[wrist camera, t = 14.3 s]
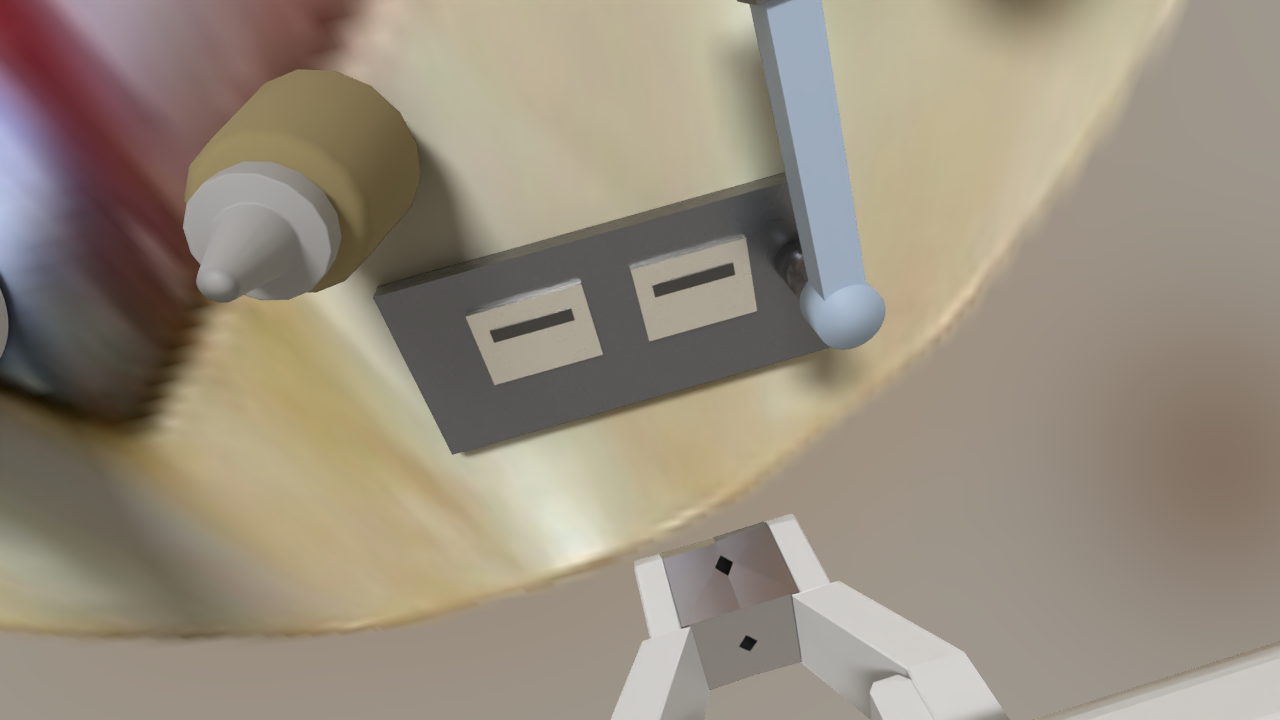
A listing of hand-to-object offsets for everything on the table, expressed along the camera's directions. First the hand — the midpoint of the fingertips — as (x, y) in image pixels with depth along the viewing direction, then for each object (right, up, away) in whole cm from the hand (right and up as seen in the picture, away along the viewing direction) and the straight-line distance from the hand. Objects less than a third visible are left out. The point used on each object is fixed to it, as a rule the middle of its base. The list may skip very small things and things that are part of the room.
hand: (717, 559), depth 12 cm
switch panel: (-3, +7, +30) cm, 31 cm away
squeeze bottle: (-17, +15, +23) cm, 32 cm away
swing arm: (+6, +14, +20) cm, 25 cm away
